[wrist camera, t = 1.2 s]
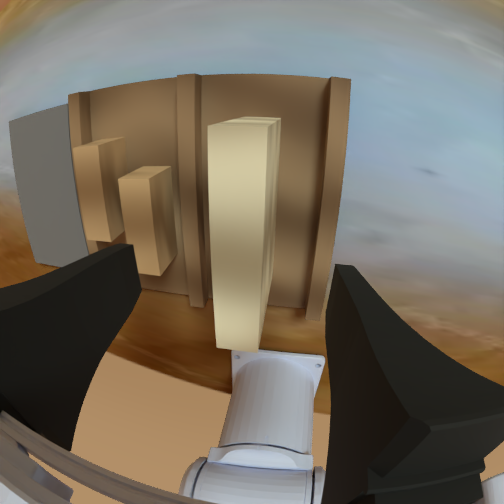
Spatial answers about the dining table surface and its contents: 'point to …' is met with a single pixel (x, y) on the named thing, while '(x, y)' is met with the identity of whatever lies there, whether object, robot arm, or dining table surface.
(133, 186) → the teak offcut
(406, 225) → the dining table surface
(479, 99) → the dining table surface
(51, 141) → the charcoal mat
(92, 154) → the teak offcut
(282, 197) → the walnut rack
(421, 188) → the dining table surface
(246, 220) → the birch panel
